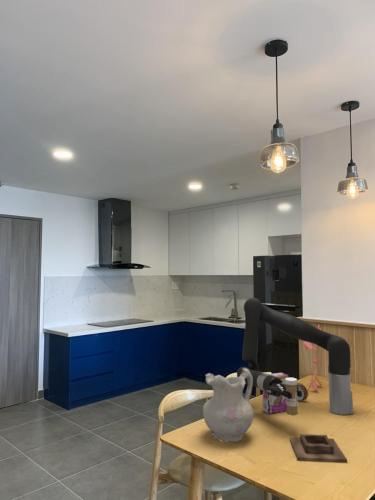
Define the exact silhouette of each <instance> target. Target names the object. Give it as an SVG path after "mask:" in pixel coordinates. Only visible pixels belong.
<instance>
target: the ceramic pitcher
mask: <svg viewBox="0 0 375 500" xmlns="http://www.w3.org/2000/svg"><path fill="white" fill-rule="evenodd" d="M246 378H247V380H248V384H247V387H246V390H245V395H244V394H243V392H244V389H245V385H246V384H245V379H246ZM205 382H206V384H207V385H209V386H211V387H212V391H213V395H212V396H211V398H210V399H208V400H207V401H206V402H205V403H204V405H203V406H202V407H203V408H202V414H203V415H202V416H203V419H204V423H205V425H206V426H207V427H208V429H209V430H210V431H212V432H213V433H212V434H211V435H210V438H212V439H214V440H218V441H220V442H221V441H222V442H224V443H239V442H241V441H242V440H243V439H244V433H247V431H248V430H249V429H250V427H251V426H252V423H253V421H254V415H255V412H254V409H253V406H252V405H251V404H250V396H251V395H252V391H253V378H252V375H251V373H250V372H249V369H248V368H247V369H246V368H245V369H244V368H242V373H241V375H240V376H239V377H237V376H230V377H227V378H226V377H224V376H222V375H220V374H217V375H214V374H213V373H210V372H209V373H206V374H205Z"/></svg>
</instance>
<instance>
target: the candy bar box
mask: <svg viewBox="0 0 375 500" xmlns="http://www.w3.org/2000/svg"><path fill="white" fill-rule="evenodd" d="M269 374H270V375H273V376H275V377H278V378H280V379H281V380H282V382H283V383H285V379H286V378H289V374H287V373H283V372H277V373H269ZM286 411H287V410H286V397H282V396H280V397H276V396H273V395H269V394H267V392H264V391H263V390H262V412H264V413H266V414H268V415H273V414H278V413H284V412H286Z"/></svg>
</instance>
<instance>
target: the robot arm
mask: <svg viewBox="0 0 375 500" xmlns="http://www.w3.org/2000/svg"><path fill="white" fill-rule="evenodd" d="M243 311H244V318H245V320H244V322H245V323H244V325H245V326H244V335H243V344H242V354H241V355H242V357H241V359H242V360H243V361H244V362H247V363H248V366H241V367H239V368H238V369H237V370H236V377H239V376H240V375H241V373H242V368H244V369H245V368H246V369H247V368H248V369H249V372H250V373H251V375H252V378H253V385H252V387H256V388H257V389H259V390H261V391H262V392H263V391H264V392H267V394H269V395H273V396H276V397H280V396H282V397H287V398H289V399H292V393H290V392H288V391H286V384H285V383H283V382H282V380H281V379H280V378H278V377H275V376H273V375H270V374H271V373H266V372H264V371H260V368H259V362H258V347H259V324H260V322H263V323H265V324H268V325H270V326H271V327H273V328H275V329H276V330H278V331H280V332H282V333H283V334H286V335H288V336H290V337H292V338H295V339H297V340H299V341H303V342H304V341H306V342H310V344H311V343H313V345H315V346H317V347H318V346H319V348H321V349H323V350H326V351H327V353H328V367H327V369H328V370H327V371H328V395H329V396H328V400H329V405H328V406H329V412H330V413H333V414H335V415H341V416H343V415H344V416H347V415H353V414H354V402H353V399H354V398H353V391H352V390H351V389H352V387H351V386H352V384H351V364H352V363H351V348H350V347H351V346H350V344H349V343H348V341H347V340H346V339H345V338H344V337H341V336H339V335H335V334H332V333H330V332H327V331H324V330H322V329H321V330H320V329H318V327H316V326H314V325H313V324H311V323H309V322H307V321H305V320H303V319H301V318H299V317H295V315H292V314H289V313H286V312H281V311H278V310H276V309H275V310H274V309H272V308H271V307H268V306H267V305H265V304H263V303H262V302H261V300H260V299H258V298H257V297H250V298H248V299H246V301H245V302H244V304H243ZM245 385H248V380H247V378H246V379H245ZM297 396H299V397H302V391H300V390H299V387H298V386H297Z"/></svg>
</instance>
